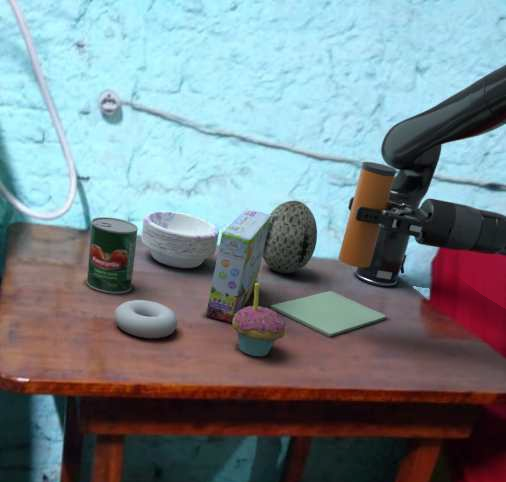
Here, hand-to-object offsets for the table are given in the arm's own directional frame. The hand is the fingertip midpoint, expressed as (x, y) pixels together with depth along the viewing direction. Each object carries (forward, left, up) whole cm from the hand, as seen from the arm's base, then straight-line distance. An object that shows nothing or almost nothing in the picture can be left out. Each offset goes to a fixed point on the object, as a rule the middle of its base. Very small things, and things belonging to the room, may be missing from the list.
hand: (353, 208), depth 123 cm
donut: (+31, -14, -22) cm, 40 cm away
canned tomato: (+24, -31, -22) cm, 45 cm away
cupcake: (+20, 0, -22) cm, 30 cm away
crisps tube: (-2, +2, -9) cm, 9 cm away
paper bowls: (+1, -37, -22) cm, 43 cm away
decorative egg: (-18, -24, -22) cm, 37 cm away
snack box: (+7, -16, -22) cm, 28 cm away
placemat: (-8, -4, -22) cm, 24 cm away
